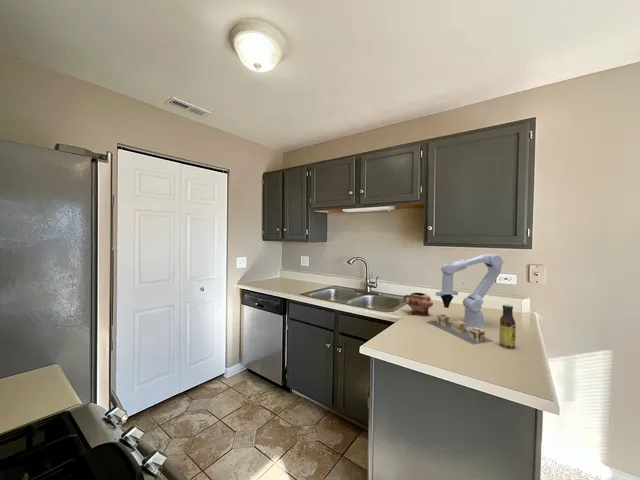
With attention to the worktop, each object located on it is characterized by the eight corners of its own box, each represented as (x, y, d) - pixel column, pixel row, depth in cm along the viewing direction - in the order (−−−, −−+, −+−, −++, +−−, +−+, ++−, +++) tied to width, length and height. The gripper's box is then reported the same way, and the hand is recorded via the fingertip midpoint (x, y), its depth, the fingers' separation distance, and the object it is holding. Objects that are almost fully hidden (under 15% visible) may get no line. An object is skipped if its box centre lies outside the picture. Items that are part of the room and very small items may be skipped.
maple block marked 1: (443, 322, 159) (443, 314, 159) (450, 325, 155) (450, 316, 154) (436, 323, 158) (436, 314, 158) (442, 326, 153) (443, 317, 153)
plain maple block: (458, 329, 148) (459, 320, 148) (466, 332, 144) (466, 323, 143) (451, 330, 147) (451, 321, 147) (458, 333, 142) (458, 324, 142)
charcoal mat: (443, 320, 165) (443, 319, 165) (494, 342, 132) (494, 341, 132) (426, 322, 161) (426, 321, 161) (473, 345, 129) (473, 344, 129)
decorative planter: (399, 313, 180) (399, 292, 179) (406, 309, 189) (406, 289, 189) (430, 319, 167) (430, 297, 167) (435, 314, 177) (436, 293, 176)
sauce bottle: (515, 351, 122) (516, 308, 122) (499, 348, 126) (500, 306, 125) (514, 346, 128) (515, 305, 127) (499, 343, 131) (499, 303, 131)
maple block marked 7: (476, 337, 137) (476, 327, 137) (485, 341, 133) (485, 330, 132) (468, 338, 136) (468, 328, 136) (477, 342, 131) (477, 332, 131)
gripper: (442, 286, 150) (441, 310, 151) (462, 285, 155) (461, 308, 155) (433, 283, 157) (432, 306, 157) (453, 283, 161) (452, 305, 162)
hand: (446, 307), depth 157 cm, fingers closed
